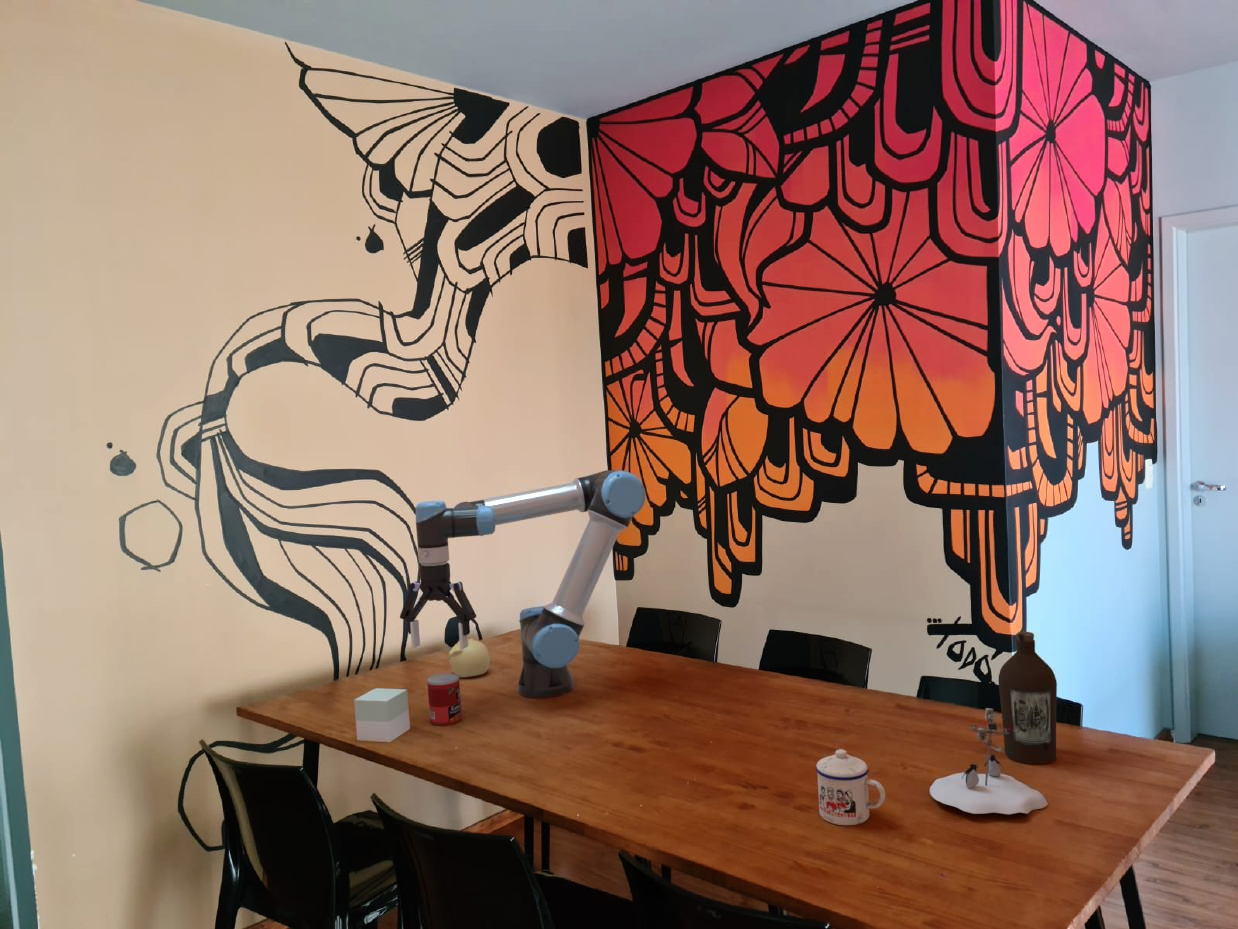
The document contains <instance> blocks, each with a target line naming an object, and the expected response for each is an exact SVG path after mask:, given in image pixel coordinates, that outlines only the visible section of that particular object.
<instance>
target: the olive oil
mask: <svg viewBox="0 0 1238 929" xmlns="http://www.w3.org/2000/svg"><path fill="white" fill-rule="evenodd" d="M997 679H998V690H999V691H998V692H999V701H1000V710H1001V719H1002V728H1003V729H1004V728H1006V730H1007V729H1008V728H1010V727H1011V726H1013V728H1012V729H1011V730H1007V732H1008V733H1009V734H1003V742H1004V743H1003V745H1004V746H1003V747H1004V755H1005V756H1006V757H1007V758H1008V759H1009V760H1012V761H1015V762H1017V763H1022V764H1026V765H1047V764H1051V763H1053V762H1055V761H1056V759H1057V697H1058V696H1057V695H1058V694H1057V693H1058V692H1057V691H1058V684H1057V683H1058V682H1057V678H1056V674H1055V673H1054V670H1053V669H1052V667H1051V666H1050V665H1049V664H1048V663H1046V661H1045V660H1043V659H1042V657H1041V656H1040V655H1038V653H1037V652H1036V640H1035V634H1034V633H1033V632H1031V631H1018V632H1017V633H1016V651H1015V653H1014V654H1013V655H1012V656H1011V657H1010V658H1009V659H1007V660H1006V662H1004V664H1002V666H1001V667H1000V671H999V672H998V678H997ZM1003 729H1002V730H1003Z"/></svg>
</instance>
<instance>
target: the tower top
mask: <svg viewBox="0 0 1238 929" xmlns="http://www.w3.org/2000/svg"><path fill="white" fill-rule="evenodd" d="M408 699H409V698H408V689H402V688H379V687H378V688H377V687H376V688H374V689H372V690H370V691H367V692H366V693H364V694H362V695H361V696H359V697H357V698H355V699H354V700H353V704H354V713H355V715H354V716H355V721H356V720H358V721H377V722H389V721H391V720H392V719H394V718H396V717H397V716H399V715H400V714H402V713H404V712H405V711H407V710H408V709H409V700H408Z"/></svg>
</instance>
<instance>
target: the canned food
mask: <svg viewBox="0 0 1238 929" xmlns="http://www.w3.org/2000/svg"><path fill="white" fill-rule="evenodd" d="M460 687H461V685H460V677H459V676H458V675H456V674H455V673H440V674H436V675H433V676H430V677H429V678H427V693H428V694H427V695H428V696H427V697H428V706H429V708H428V709H429V710H428V711H429V720H430V722H431V724H432V725H434V726H439V727H442V726H443V727H444V726H450V725H451V726H452V725H455V724H457V723H459V722H460V721H461V720H462V716H463V715H462V701H461V688H460Z"/></svg>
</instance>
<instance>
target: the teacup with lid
mask: <svg viewBox="0 0 1238 929" xmlns="http://www.w3.org/2000/svg"><path fill="white" fill-rule="evenodd" d="M869 770H870V769H869V767H868V765H867V763H866V762H865V761H864V760H862V759H860V758H858V757H855V756H852V755H849V754H848V752H847V750H845V749H837V750H836V751H835V752H834V754H832V755H829V756H826V757H823V758H821V759H819V760H818V761H817V763H816V765H815V771H816V773H817V788H818V790H817V791H818V805H819V806H818V809H819V811H818V812H819V815H820V817H821V818H822V819H823V820H824V821H826V822H829V823H830V824H833V825H838V826H856V825H860V824H863V823H865V822H866V821H867V820H868V819H869V817H870V809H871V810H872V809H878V808H879V807H880V806H881V805H883V803H884V802H885V798H886V791H885V788H884V786H883V785H882V784H881V783H880V782H879V781H878V780H876V779H870V778H868V773H869ZM869 786H873V787H874V788H876V789H877V790H878V792H879V799H878V800H877V802H870V800H869Z"/></svg>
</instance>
